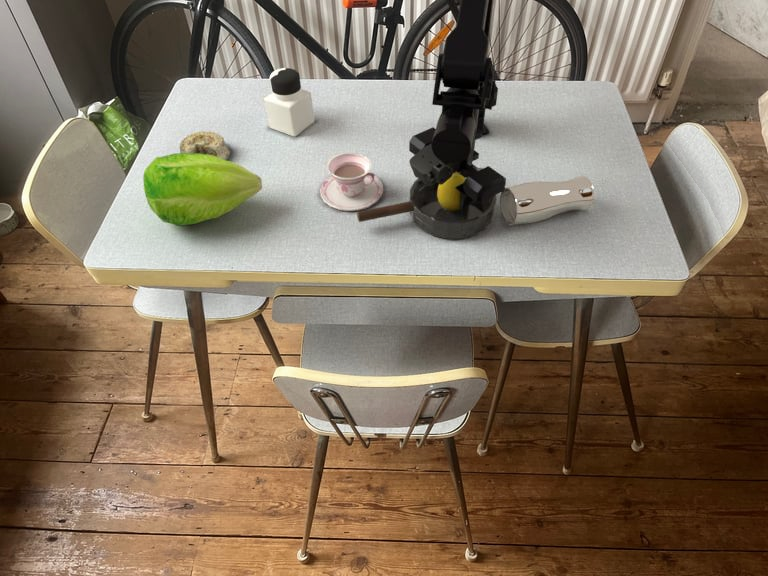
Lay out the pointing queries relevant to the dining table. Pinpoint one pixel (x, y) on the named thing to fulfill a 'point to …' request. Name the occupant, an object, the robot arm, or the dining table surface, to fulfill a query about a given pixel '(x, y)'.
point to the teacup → (350, 183)
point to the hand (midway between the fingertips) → (452, 201)
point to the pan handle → (385, 211)
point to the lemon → (450, 193)
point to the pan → (448, 214)
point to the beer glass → (545, 199)
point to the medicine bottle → (288, 103)
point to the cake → (205, 144)
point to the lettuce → (196, 187)
